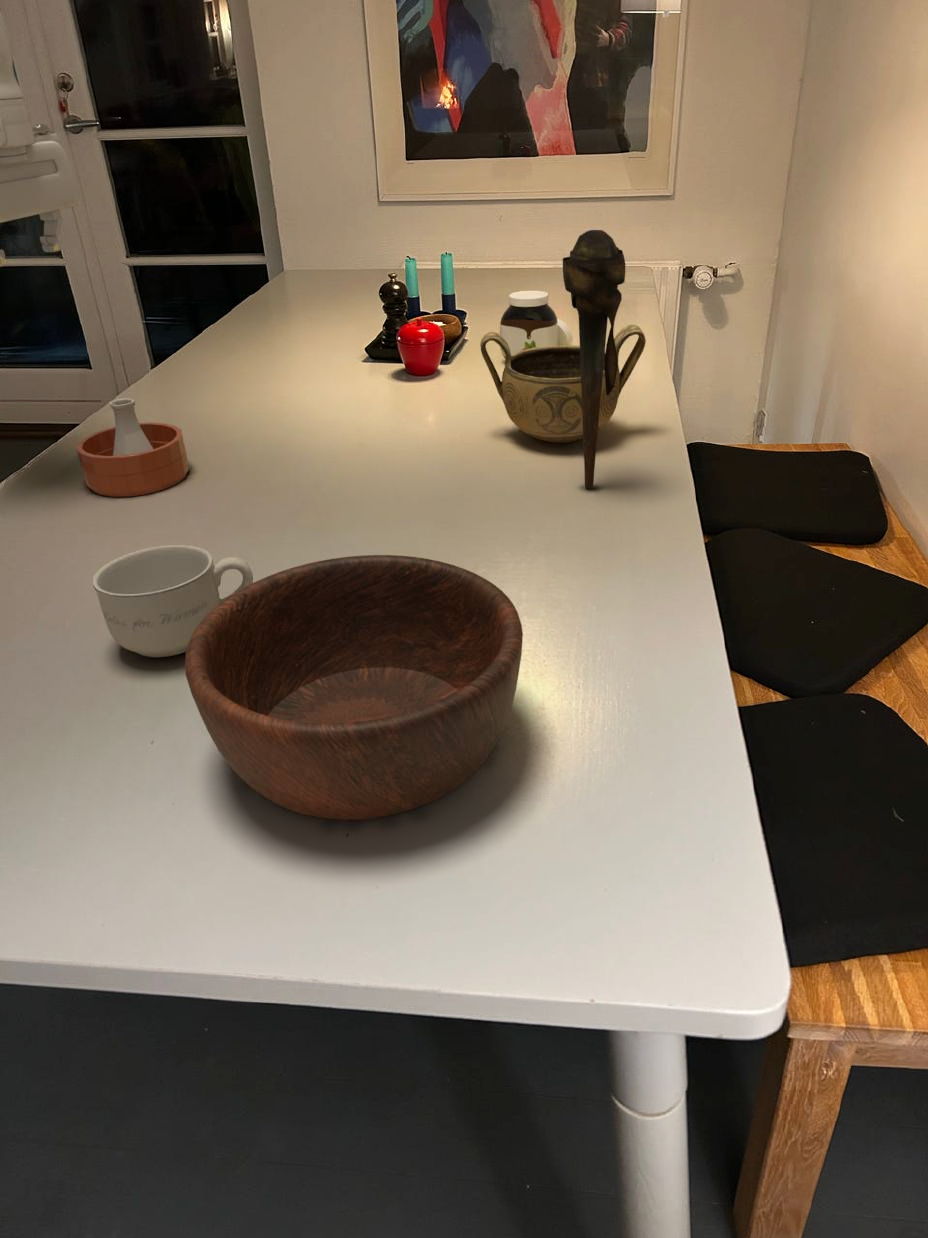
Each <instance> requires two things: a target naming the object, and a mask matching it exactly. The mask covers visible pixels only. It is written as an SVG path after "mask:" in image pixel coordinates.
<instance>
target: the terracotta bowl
mask: <svg viewBox="0 0 928 1238" xmlns="http://www.w3.org/2000/svg"><path fill="white" fill-rule="evenodd" d="M139 425H140V427H141V429H142V431H143V433H144V434H145V436H146V438H147V439H148V441H149V443H150V444H151V446H152V448H153V450H150V451H146V452H142V453H137V454H130V455H123V456H113V452H114V443H115V433H116V427H115V426H112V427H109V428H105V429H102V430H99V431H96V432H94V433H92V434H89V435H88V436H85V437H84V438H82V439H81V440H80V441H79V442H78V443H77V446H76V452H77V456H78V459H79V463H80V466H81V471H82V474H83V478H84V482H85V484H86V486H87V487H88V488H89V489H90V490H91V491H93V493H95V494H98V495H101V496H105V497H113V498H114V497H117V498H121V497H122V498H128V497H134V496H136V497H138V496H143V495H149V494H152V493H156V492H160V491H162V490H166V489H168V488H171V487H173V486H175V485H177V484H179V483H180V482H182V481H183V480H184V479H185V478H186V477H187V476H188V471H189V470H190V465H189V460H188V454H187V450H186V445H185V440H184V435H183V431H182V429H181V428H180V427H178V426H176V425H173V424H169V423H163V422H162V423H161V422H139Z"/></svg>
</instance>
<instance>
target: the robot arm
mask: <svg viewBox="0 0 928 1238" xmlns="http://www.w3.org/2000/svg"><path fill="white" fill-rule="evenodd" d="M13 59H14V54H13V48H12V44H11V41H10V37H9V34H8V30H7V26H6V23H5V21H4V17H3V14H2V10H0V224H1V223H5V222H6V223H7V222H10V221H14V220H18V219H23V218H27V217H32V216H36V215H39V219H40V220H41V221H43V235H42V236H39V241H40V244H41V248H42V250H43V252H45V253H55V252H60V251H61V250H63V249H62V248H63V247H62V242H61V239H60V234H61V230H62V229H61V228H62V222H63V217H62V213H61V210H63V209H68V208H72V207H75V206H77V205H78V203H79V199H80V193H79V192H80V191H79V188H78V185H77V182H76V178H75V175H74V173H73V172H74V171H73V169H72V167H71V164H70V161H69V159H68V155H67V153H66V152H65V149H64V148H63V146H62V144H61V141H60V138H59V135H58V133H55V131H54V130H53V129H52V128H50V127H49V126H48V125H47V124H44V123H39V124H36V125H32V123H31V118H30V115H29V111H28V110H29V109H28V106H27V104H26V100H25V95H24V92H23V90H22V88H21V87H20V85H19V83H18V81H17V78H16V75H15V71H14V63H13V61H14V60H13ZM7 265H8V262H7V258H6V253H5V250H4V249H0V268H2V267H5V266H7Z"/></svg>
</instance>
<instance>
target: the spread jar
mask: <svg viewBox="0 0 928 1238" xmlns="http://www.w3.org/2000/svg"><path fill="white" fill-rule="evenodd" d="M508 303H509V306H508V307H507V309H505V311H504V312H503V314H502V316H501V319H500V323H499V335H501V336H502V337H503V338H504V339H505V341H506V342H507V344H508V346H509V349H510V353H511V356H512V355H513V354H515V353H517V352H520V351H523V350H526V349H531V348H536V347H543V346H556V345H568V346H569V345H573V344H574V343H573V341H574V339H573V334H572V332H571V329H570V328H569V326H568V325H567V324H566V323H565V322H564V321H562V319H560V318H558V317H557V313H556V312H555V311H554V309H553V308H552V307H551V306H550V305H549V293H548V292H546V291H543V290H542V291H541V290H520V291H515V292H512V293H511V292H510V293H509V295H508ZM500 352H501V355H502V356H503V359H504V360H506V355H505V353H504V351H503V350H502V348H501V347H500Z"/></svg>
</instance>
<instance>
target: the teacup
mask: <svg viewBox="0 0 928 1238" xmlns="http://www.w3.org/2000/svg"><path fill="white" fill-rule="evenodd" d="M228 570H236V571H238V572H240V574H241V575H242V580H241V581H242V582H241V584H240V585H239V586H238V587H237V589H236V590H234V591H233V592H232V593H231V594H229V595H227V596H225V597H224V598H220V593H219V592H220V591H219V587H220V586H221V582H222V576H223V574H224V573H226V571H228ZM252 583H254V573H253V571H252V568H251V567H250V565H249V563H247V562H246V561H245V560H244V559H242V558H239V557H235V556H230V557H225V558H222V559H221V560H220V561H218V562H217V563H215V564H214V559H213V556H212V554H210V552H208V550H206V549H204V548H202V547H199V546H195V545H194V546H193V545H183V544H174V545H173V544H169V545H158V546H153V547H148V548H143V549H139V550H137V551H134V552H129V553H127V554H123V555H122V556H119V557H117V558H115V559H113V560H111V561H109V562H108V563H106V564H105V565H102V567H100V568H99V570H97V572H96V573H95V574H94V575H93V577H92V587H93V589H94V591H95V592H96V595H97V598H98V602H99V606H100V609H101V612H102V615H103V618H104V621H105V625H106V627H107V629H108V631H109V633H110V636H111V637H112V638H113V640H114V641H115V642H116V643H117V644H118V645H119V646H121V647H122V648H124V649H125V650H128V651H130V652H135V653H137V654H139V655H141V656H144V657H149V658H167V657H172V656H177V655H181V654H184V653H186V650H187V647H188V643H189V641H190V639H191V637H192V634H193V633H194V631H195V630H196V628H197V627H198V625H199V624H200V623H201V621H202V620H203V619H204V618H205V617H206V616H207V615H208V614H209V613H210V612H211V611H212V610H213V609H214V608H215V607H217V606H218V605H219V604H220V603H221V602H223V601H224V600H226V599H227V598H228V597H230V596H231V595H233V594H234V593H236V592H238V591H239V590H241V589H243V588H244V587H246V586H248V585H250V584H252Z"/></svg>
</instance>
